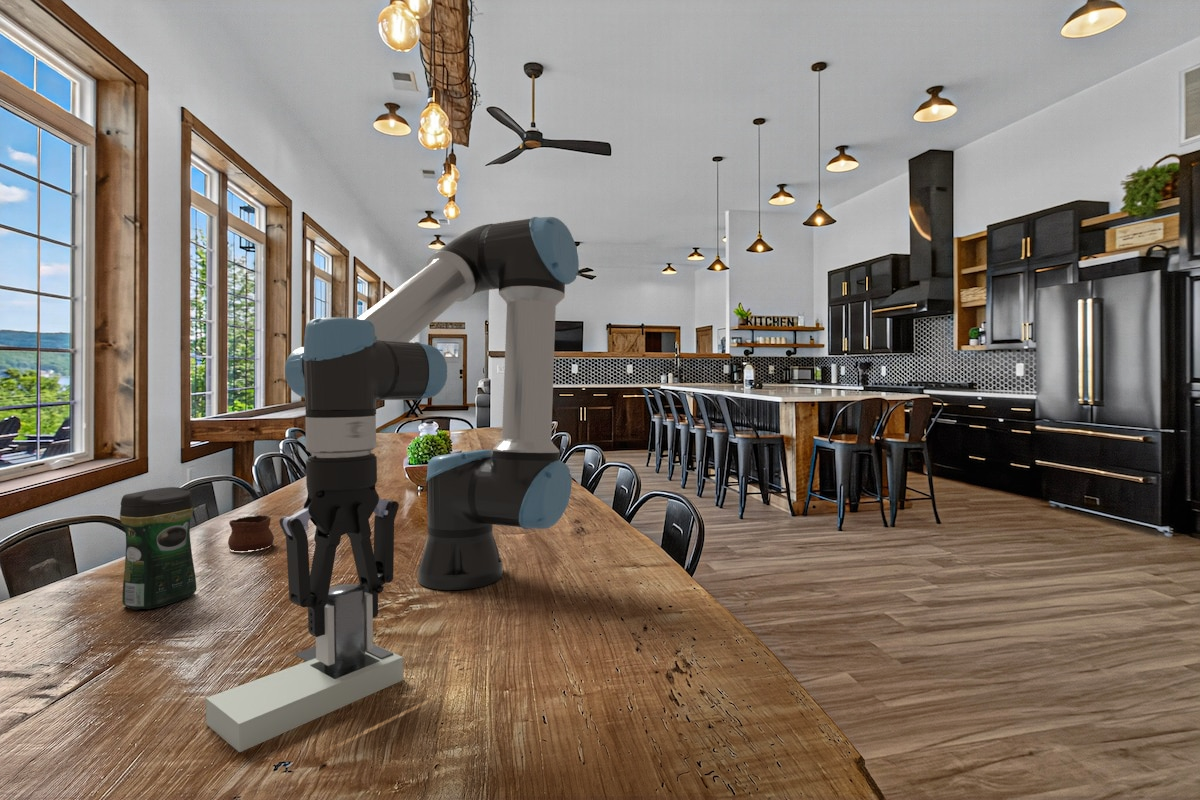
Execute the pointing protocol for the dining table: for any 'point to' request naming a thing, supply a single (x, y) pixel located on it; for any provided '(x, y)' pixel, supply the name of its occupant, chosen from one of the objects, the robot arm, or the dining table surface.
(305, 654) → the mat
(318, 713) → the slotted holder block
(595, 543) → the dining table surface
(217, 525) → the dining table surface
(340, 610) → the barrel peg
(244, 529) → the ceramic pot
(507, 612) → the dining table surface
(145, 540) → the coffee jar
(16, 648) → the dining table surface
